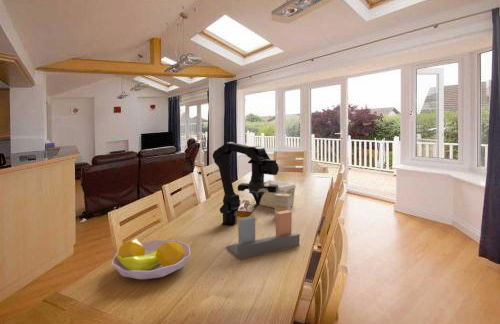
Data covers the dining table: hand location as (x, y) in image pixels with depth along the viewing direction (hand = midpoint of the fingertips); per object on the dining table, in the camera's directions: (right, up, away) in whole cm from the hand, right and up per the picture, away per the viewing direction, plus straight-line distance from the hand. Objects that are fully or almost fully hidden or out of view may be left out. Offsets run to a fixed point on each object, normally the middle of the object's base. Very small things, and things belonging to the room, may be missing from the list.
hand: (258, 205), depth 141 cm
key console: (+2, -15, -17) cm, 22 cm away
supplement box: (+15, -10, +24) cm, 30 cm away
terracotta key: (+10, -13, -15) cm, 22 cm away
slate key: (-5, -14, -23) cm, 27 cm away
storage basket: (+12, -8, +51) cm, 53 cm away
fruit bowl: (-39, -18, -36) cm, 56 cm away
